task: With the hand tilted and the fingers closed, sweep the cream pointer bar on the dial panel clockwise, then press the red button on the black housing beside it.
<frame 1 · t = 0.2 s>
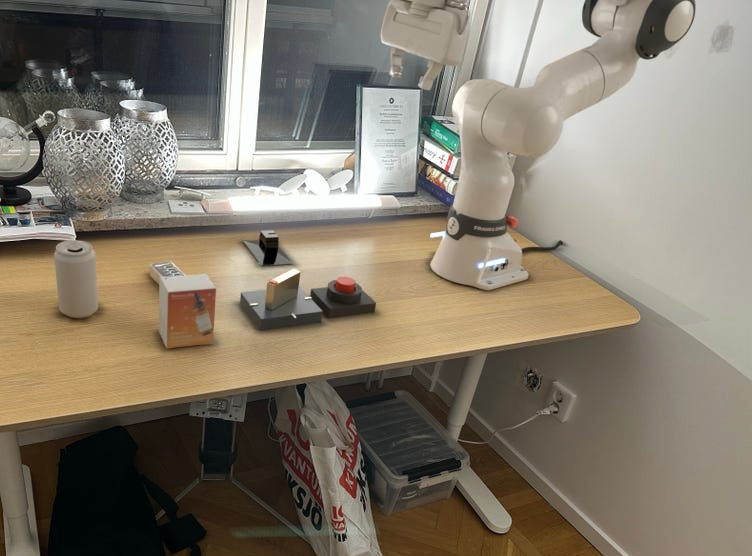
hand: (409, 82, 115), 39 cm above the table, tool pointing down, fingers open, 8 cm apart
start button: (345, 284, 124), point 5 cm above the table, slide at 0.2 cm
small box: (186, 339, 110), on the table
button box: (341, 305, 126), on the table
build plate: (267, 254, 142), on the table
multiport hub: (171, 286, 125), on the table
beverage can: (79, 312, 113), on the table
pointer: (282, 288, 118), point 5 cm above the table, hinge at 30.0°
dial panel: (280, 313, 121), on the table
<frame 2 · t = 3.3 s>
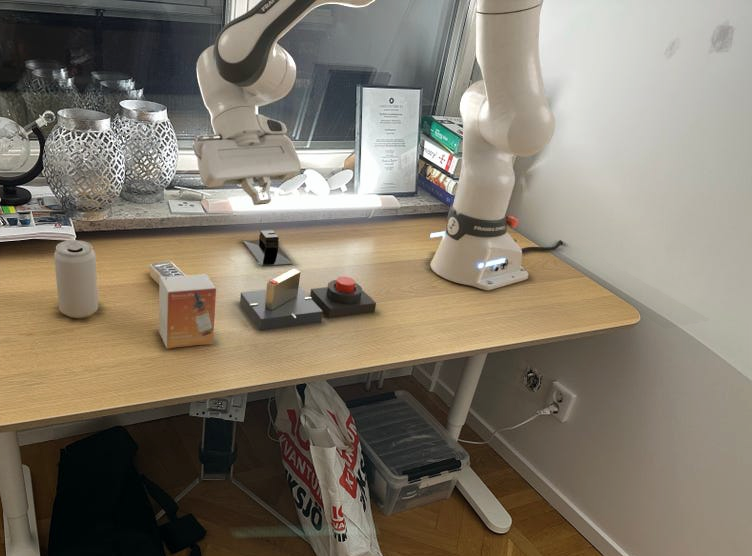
hand: (262, 203, 121), 16 cm above the table, tool tilted 45°, fingers closed
nothing on the table moved.
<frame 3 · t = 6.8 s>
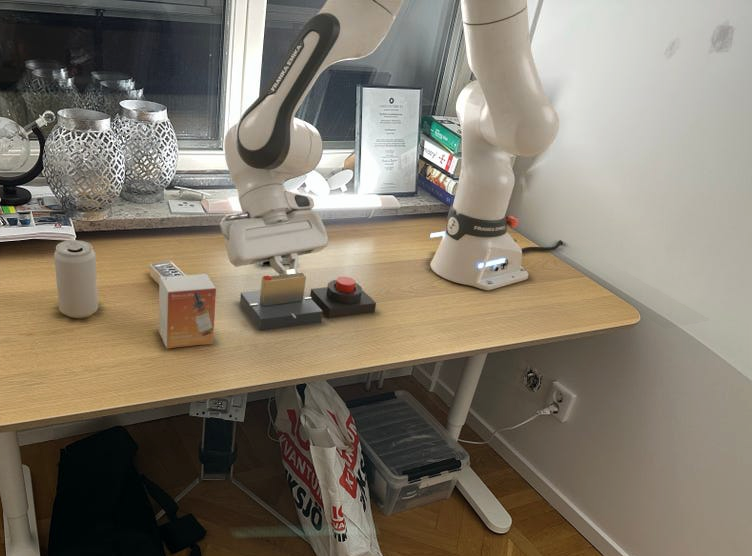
hand: (290, 280, 120), 6 cm above the table, tool tilted 45°, fingers closed, pressing on pointer
pointer: (282, 288, 118), point 5 cm above the table, hinge at 1.3°, touching gripper
everything else where it was.
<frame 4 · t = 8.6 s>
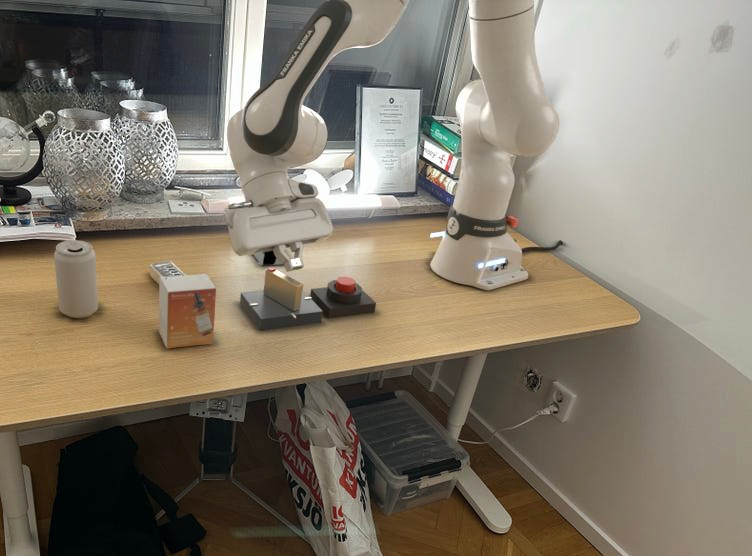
hand: (295, 269, 118), 8 cm above the table, tool tilted 45°, fingers closed
pointer: (282, 288, 118), point 5 cm above the table, hinge at -69.2°
everything else where it was.
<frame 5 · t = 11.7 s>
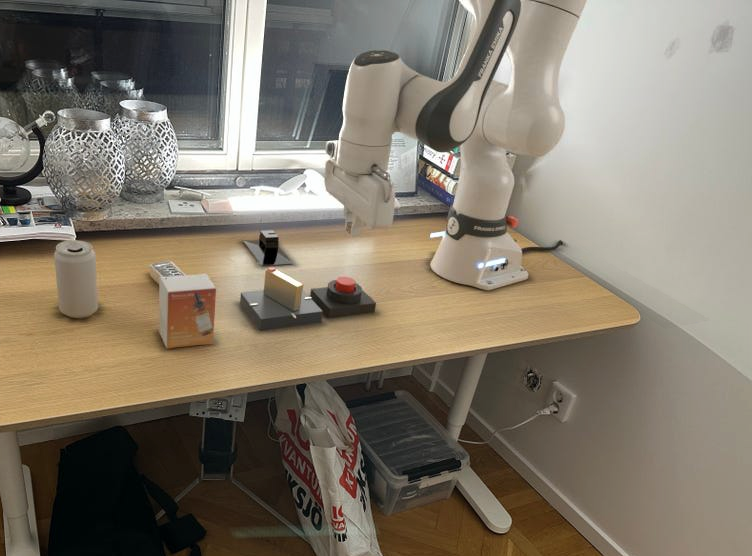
hand: (352, 233, 118), 15 cm above the table, tool pointing down, fingers closed
nothing on the table moved.
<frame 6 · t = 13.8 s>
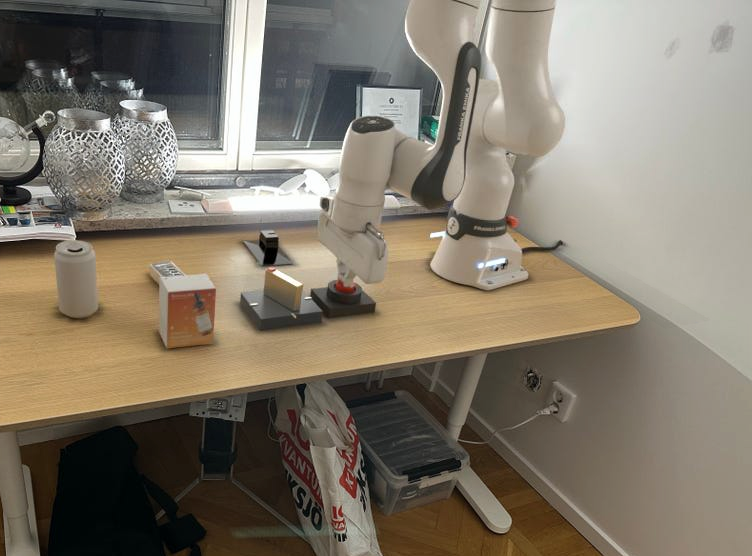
hand: (344, 283, 123), 5 cm above the table, tool pointing down, fingers closed, pressing on start button
start button: (344, 287, 124), point 4 cm above the table, slide at -0.5 cm, touching gripper
everything else where it was.
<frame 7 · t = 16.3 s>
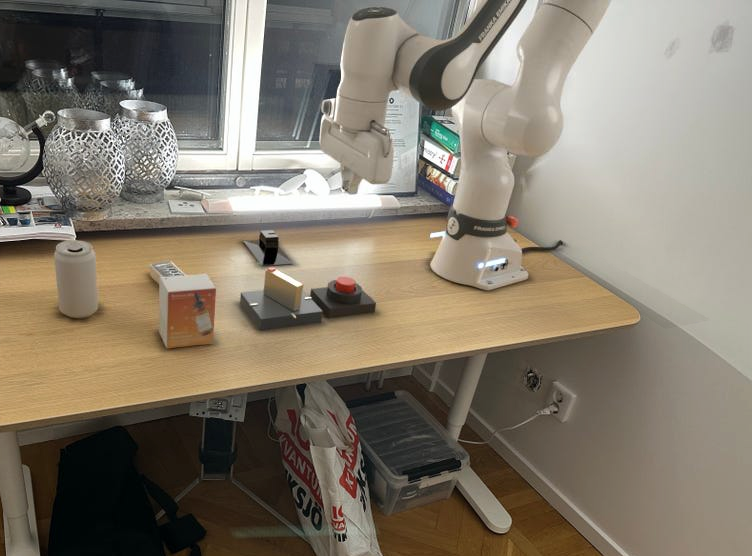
hand: (348, 191, 121), 20 cm above the table, tool pointing down, fingers closed
start button: (345, 284, 124), point 5 cm above the table, slide at 0.2 cm
everything else where it was.
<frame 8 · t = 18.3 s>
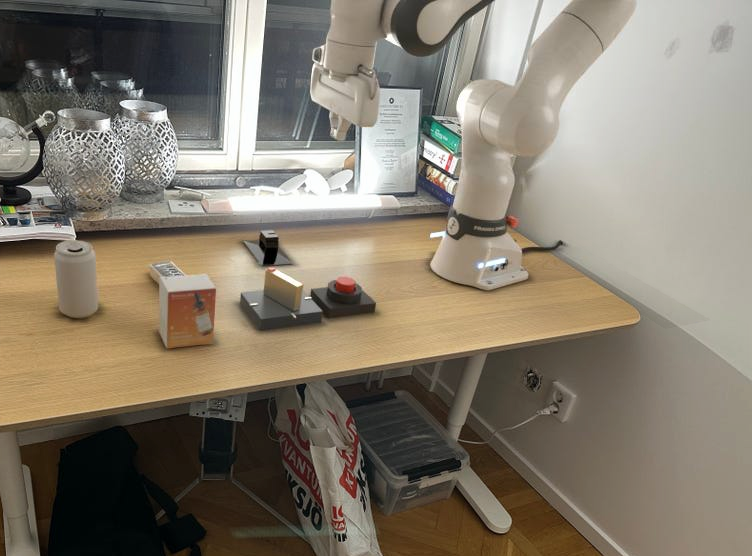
hand: (337, 138, 124), 27 cm above the table, tool pointing down, fingers closed
nothing on the table moved.
at the end: pointer at -69° (first picture: +30°); start button pushed in 1.0 cm at the most during the clip, back to 0.2 cm at the end; start button slide at 0.2 cm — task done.
